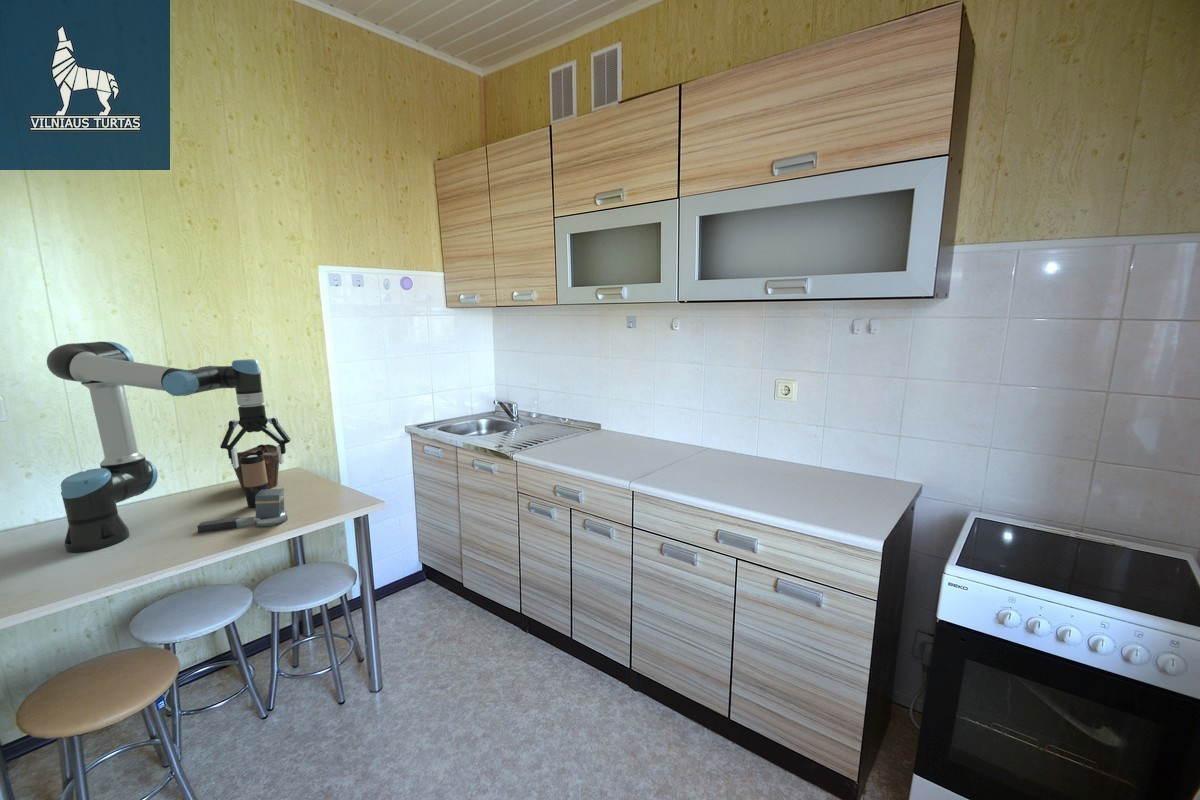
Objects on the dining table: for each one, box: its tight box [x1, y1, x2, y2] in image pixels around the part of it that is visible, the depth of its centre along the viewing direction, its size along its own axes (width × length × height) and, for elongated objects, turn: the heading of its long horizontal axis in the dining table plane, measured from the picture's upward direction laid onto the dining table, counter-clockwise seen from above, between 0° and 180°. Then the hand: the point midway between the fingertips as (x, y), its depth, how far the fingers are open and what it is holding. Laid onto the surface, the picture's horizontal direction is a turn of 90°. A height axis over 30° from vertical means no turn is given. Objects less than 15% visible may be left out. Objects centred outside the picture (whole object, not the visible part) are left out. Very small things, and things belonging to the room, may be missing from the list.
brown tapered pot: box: [230, 443, 280, 492], centre depth 219 cm, size 18×20×18 cm
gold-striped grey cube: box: [255, 488, 285, 518], centre depth 180 cm, size 7×7×8 cm
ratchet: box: [197, 509, 289, 534], centre depth 178 cm, size 26×10×8 cm, turn 109°
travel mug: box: [240, 453, 268, 510], centre depth 196 cm, size 8×8×20 cm
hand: (259, 465), depth 178 cm, fingers open, 13 cm apart
